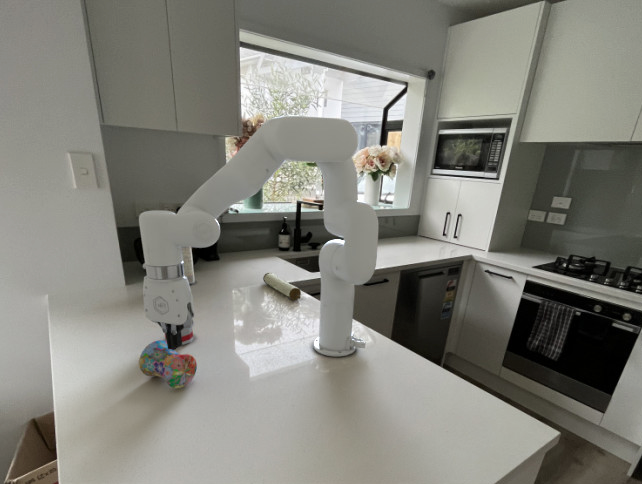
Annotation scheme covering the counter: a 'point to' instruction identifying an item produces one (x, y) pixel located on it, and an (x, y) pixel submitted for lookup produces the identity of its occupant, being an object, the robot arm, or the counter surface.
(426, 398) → the counter surface
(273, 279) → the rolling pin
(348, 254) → the robot arm
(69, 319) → the counter surface
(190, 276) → the aerosol can
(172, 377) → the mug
